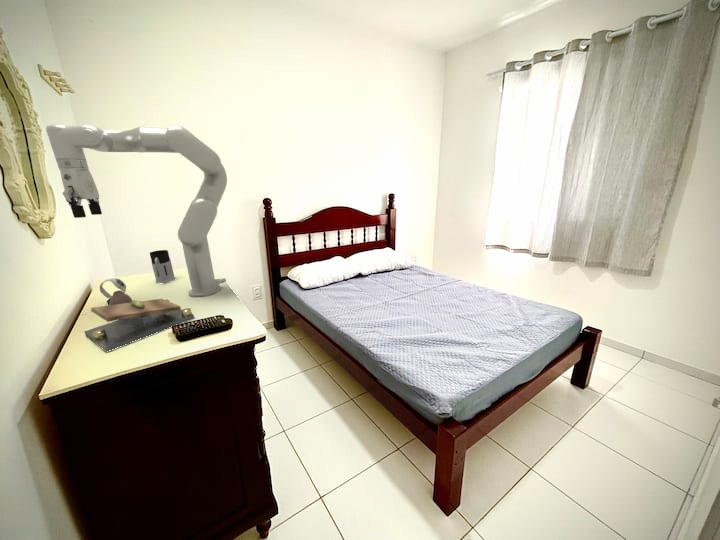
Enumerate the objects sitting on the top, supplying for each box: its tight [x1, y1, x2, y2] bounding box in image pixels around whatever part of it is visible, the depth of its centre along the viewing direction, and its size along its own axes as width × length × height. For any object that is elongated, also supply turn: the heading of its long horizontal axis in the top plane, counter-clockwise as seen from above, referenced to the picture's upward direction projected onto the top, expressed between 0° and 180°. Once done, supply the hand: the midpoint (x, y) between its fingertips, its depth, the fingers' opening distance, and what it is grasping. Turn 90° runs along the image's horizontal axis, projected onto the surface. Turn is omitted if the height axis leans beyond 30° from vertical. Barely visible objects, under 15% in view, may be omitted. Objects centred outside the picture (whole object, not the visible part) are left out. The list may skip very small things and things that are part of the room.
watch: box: [99, 277, 127, 306], centre depth 115 cm, size 6×8×11 cm
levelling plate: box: [90, 298, 182, 323], centre depth 96 cm, size 20×14×3 cm
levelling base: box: [83, 298, 195, 352], centre depth 97 cm, size 25×19×6 cm
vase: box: [109, 289, 134, 305], centre depth 107 cm, size 7×7×9 cm
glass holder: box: [149, 249, 177, 284], centre depth 139 cm, size 9×14×15 cm, turn 24°
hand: (88, 215), depth 103 cm, fingers open, 9 cm apart
